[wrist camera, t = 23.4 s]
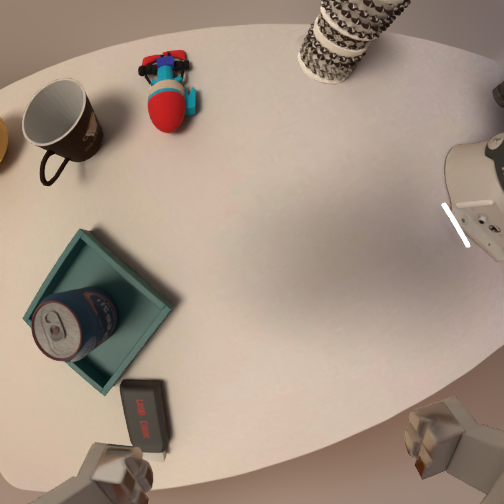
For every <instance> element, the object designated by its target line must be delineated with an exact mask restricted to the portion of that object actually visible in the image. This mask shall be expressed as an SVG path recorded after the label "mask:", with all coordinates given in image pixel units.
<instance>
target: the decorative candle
mask: <svg viewBox="0 0 504 504" xmlns="http://www.w3.org/2000/svg"><path fill="white" fill-rule="evenodd" d="M402 2H403V3H402ZM408 4H410V0H322V3H321V8H320V10H321V14H320V15H319V16H318V17H317V18H316V20H315V22H314V23H312V24H311V27H312V28H310V29H309V30H308V33H309V34H308V35H307V36H306V37H305V38H304V42H303V43H302V47H301V48H300V51H299V54H298V61H299V65H300V67H301V68H302V70H303V71H304V72H305V73H306V74H307V75H308V76H309V77H311V78H312V79H314V80H315V81H318V82H321V83H324V84H338V83H340V82H343V81H344V80H345V79H346V78H347V77H348V75H349V72H350V73H351V72H352V69H351V67H354V68H355V67H356V66H357V62H359V61H361V59H362V56H364V55H365V54H366V52H365V50H366V49H367V47H368V46H369V45H370V41H371V40H374V39H377V38H379V35H380V34H381V33H382V31H386V28H388V27H389V26H390V24H392V23H393V20H395V19H396V17H395V15H400V14H401V12H403V11H404V8H406V7H408ZM395 7H396V8H398V9H396V10H394V8H395ZM394 14H395V15H394ZM389 15H390V17H389V18H388V16H389Z"/></svg>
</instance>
